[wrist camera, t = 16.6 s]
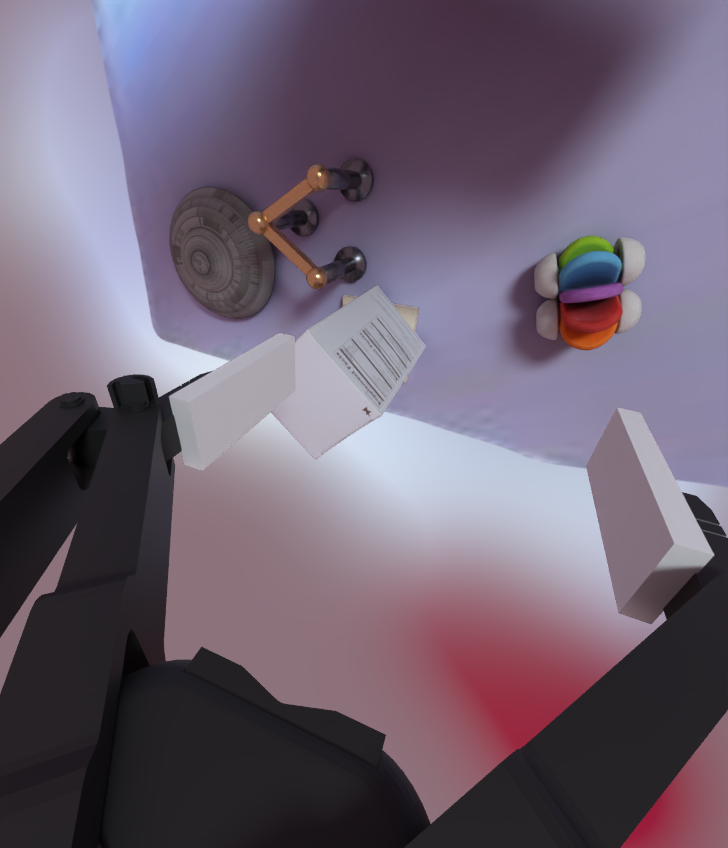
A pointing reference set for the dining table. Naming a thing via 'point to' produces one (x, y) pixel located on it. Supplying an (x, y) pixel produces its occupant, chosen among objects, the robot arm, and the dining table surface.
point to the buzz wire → (316, 220)
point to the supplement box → (348, 371)
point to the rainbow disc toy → (589, 291)
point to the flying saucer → (221, 253)
